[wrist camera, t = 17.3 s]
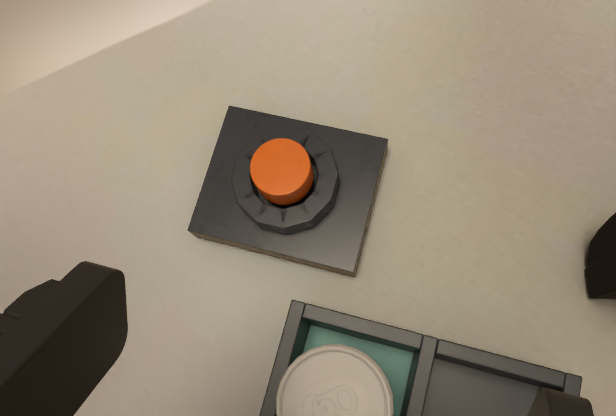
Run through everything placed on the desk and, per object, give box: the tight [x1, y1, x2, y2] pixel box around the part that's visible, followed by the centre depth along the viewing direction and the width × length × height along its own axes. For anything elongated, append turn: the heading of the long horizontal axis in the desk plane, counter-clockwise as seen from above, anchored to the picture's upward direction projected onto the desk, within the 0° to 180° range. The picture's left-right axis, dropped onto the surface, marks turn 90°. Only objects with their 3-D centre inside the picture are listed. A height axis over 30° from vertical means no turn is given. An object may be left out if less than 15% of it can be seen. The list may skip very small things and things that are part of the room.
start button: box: [250, 138, 314, 205], centre depth 35 cm, size 4×4×2 cm
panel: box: [188, 106, 388, 277], centre depth 37 cm, size 11×9×4 cm
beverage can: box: [276, 344, 394, 416], centre depth 29 cm, size 5×5×12 cm
